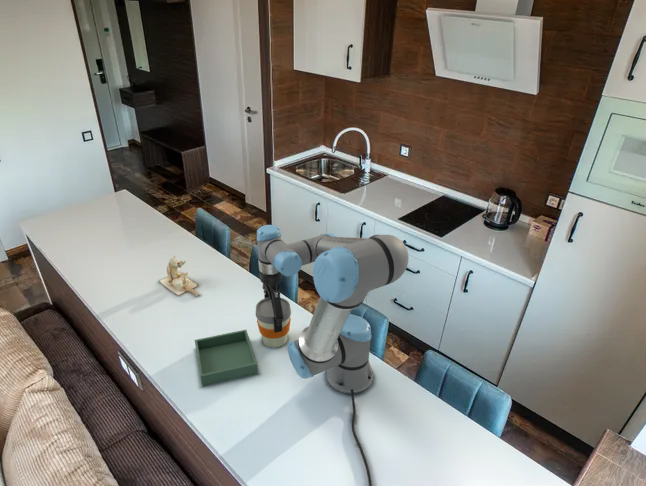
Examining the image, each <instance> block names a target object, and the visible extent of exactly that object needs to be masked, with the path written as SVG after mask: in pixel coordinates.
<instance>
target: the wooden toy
mask: <svg viewBox="0 0 646 486" xmlns="http://www.w3.org/2000/svg"><path fill="white" fill-rule="evenodd" d="M186 263H187V261H186V260H180V261H179V262H178V259H177V256H175V255H174V256H172V257H170V258H169V261H168V264H167V266H166V273H167V276H166V277H164V278H162V279H160V280H159V283H161V284H162V285H163V286H164V287H166V288H168V289H169V290H170V292H172V293H174V294H175V295H176V296H181V295H183V294H184V293H186V292H188V293H191V294H192V295H193V296H194V297H198V296H199V295H200V293H199V292H198V291H197V290H195V289H194V288H197V287H198V285H197V283H196V282H194V281H192V280H191V279H190V278H188V277H189V275H190V273H189V272H182V273H181V272H179V268H180V269H181V268H182V267H183V266H184V265H185V264H186Z"/></svg>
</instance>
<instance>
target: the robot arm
mask: <svg viewBox="0 0 646 486" xmlns="http://www.w3.org/2000/svg"><path fill="white" fill-rule="evenodd" d="M256 244H257V255H258V259H257V260H258V270H259V281H260V283H262V290H263V295H264V298H263V299H265V298H268V297H269V299H271V303H272V308H273V313H274V317H273V318H272V319H273V320H274V332H275V333H277V332H282V320H283V312H282V306H281V299H280V298H281V291H280V290H279V289H280V288H279V284H280V283H281V282H282V281H283V276H285V277H293V276H295V275H296V274H298V273H299V272H300V271H301V269H302V268H303V267H302V266H307V265H309V264H312V263H313V267H312V274H313V277H312V280H313V284H314V287H315V290H316V292H317V293H318V295H319V298H318V301H317V304H316V305H315V309H314V312H313V313H312V317H311V320H310V323H309V325H308V326H307V327H305V328H304V329H303V330H302V331H301V332H300V334H299V337H298V338H297V339H295V340H292V341H290V342H289V343H288V344H287V348H286V349H287V354H288V357H289V360H290V362H291V364H292V367H293V369H294V370H295V372H296V373H297V375H298V376H299V377H300V378H302V379H305V380H306V379H309V378H313V377H315V376H316V375H318V374H322V373H323V372H325V371H326V381H327V383H328V384H329V386H330V387H331V388H332V389H334V390H336V391H337V392H340V393H343V394H348V395H351V403H352V417H351V432H352V435H353V438H354V441H355V442H356V445H357V448H358V449H359V453H360V455H361V458H362V461H363V464H364V467H365V471H366V475H367V481H368V486H373V483H372V476H371V472H370V467H369V464H368V461H367V458H366V456H365V452H364V450H363V447H362V445H361V443H360V441H359V439H358V437H357V433H356V430H355V422H356V412H357V410H356V409H357V408H356V402H355V395H356V394H360V393H362V392H365V391H366V390H368V389H369V388H370V387H371V385H372V383H373V381H374V378H373V377H374V372H373V369H372V366H371V363H370V349H371V341H372V327H371V324H370V323H369V322H368V321H367V320H366V319H365V318H364V317H362V316H359V315H356V314H352V310H354V309H357V308H358V307H360V305H362V304H363V302H364V301H365V300H366V298H367V295H368V293H370V292H371V291H373V290H376V289H379V288H382V287H385V286H387V285H390V284H393V283H395V282H396V281H397V280H399V279H400V278H401V277H402V276H403V275H404V274H405V272H406V270H407V267H408V265H409V259H410V257H409V252H408V249H407V247H406V245H405V243H404V242H403V241H402V240H401V239H400V238H399V237H397V236H394V235H391V234H374V235H371V236H369V237H348V236H347V237H345V236H337V235H335V234H333V233H331V232H329V233H322V234H320V235H317V236H313V237H310V238H306V239H302V240H298V241H295V242H292V243H291V242H290V243H288V244H287V243H286V242H284V240H282V233H281V228H280V227H279V226H277V225H275V224H265V225H262V226H260V227H258V229H257V230H256Z"/></svg>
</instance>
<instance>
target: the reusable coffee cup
mask: <svg viewBox="0 0 646 486" xmlns="http://www.w3.org/2000/svg"><path fill="white" fill-rule="evenodd" d="M280 299H281V306H282V312H283V320H282V332H277V333H275V332H274V320H273V319H272V318H273V317H274V313H273V308H272V303H271V299H269V297H268V298H262V299H261V300H259V301H258V302H257V303H256V304H255V305H256V306H255V317H256V323H257V327H258V331H259V333H260V335H261V338H262V339H261V340H262V342H263V344H264V345H265V346H267V347H269V348H279V347H282V346H284V345H285V344H286V343H287V341H288V336H289V335H288V334H289V331H290V327H291V319H292V318H291V315H292V310H291V304H290V302H289V301H288V300H287V299H286V298H283V297H280Z"/></svg>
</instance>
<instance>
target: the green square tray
mask: <svg viewBox="0 0 646 486" xmlns="http://www.w3.org/2000/svg"><path fill="white" fill-rule="evenodd" d="M251 343H252V342H251V339H250V336H249V333H248V330H247V329H243V330H242V329H241V330H237V331H232V332H227V333H223V334H217V335H211V336H207V337H201V338H198V339H194V345H195V352H196V358H197V364H198V371H199V377H200V382H201V387H206V386H211V385H214V384H220V383H223V382H228V381H232V380H237V379H242V378H246V377H250V376H255V375H258V374H259V370H258V369H259V368H258V362H257V359H256V355H255V352H254V349H253V346H252V344H251Z"/></svg>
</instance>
